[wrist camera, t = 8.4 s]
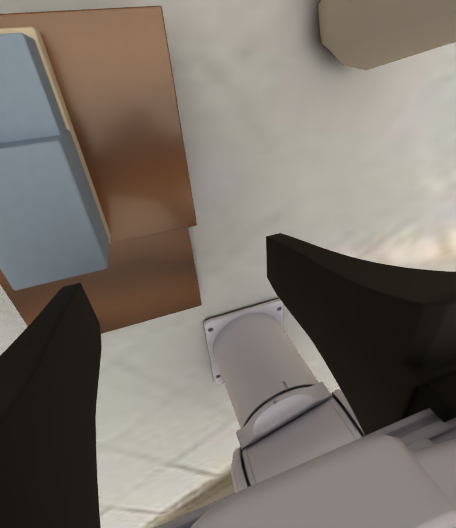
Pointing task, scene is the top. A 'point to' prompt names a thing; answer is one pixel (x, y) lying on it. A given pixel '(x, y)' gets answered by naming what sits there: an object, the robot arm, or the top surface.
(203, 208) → the top surface
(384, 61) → the salt shaker
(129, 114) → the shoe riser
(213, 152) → the top surface
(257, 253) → the top surface
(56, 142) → the blue stepped block
